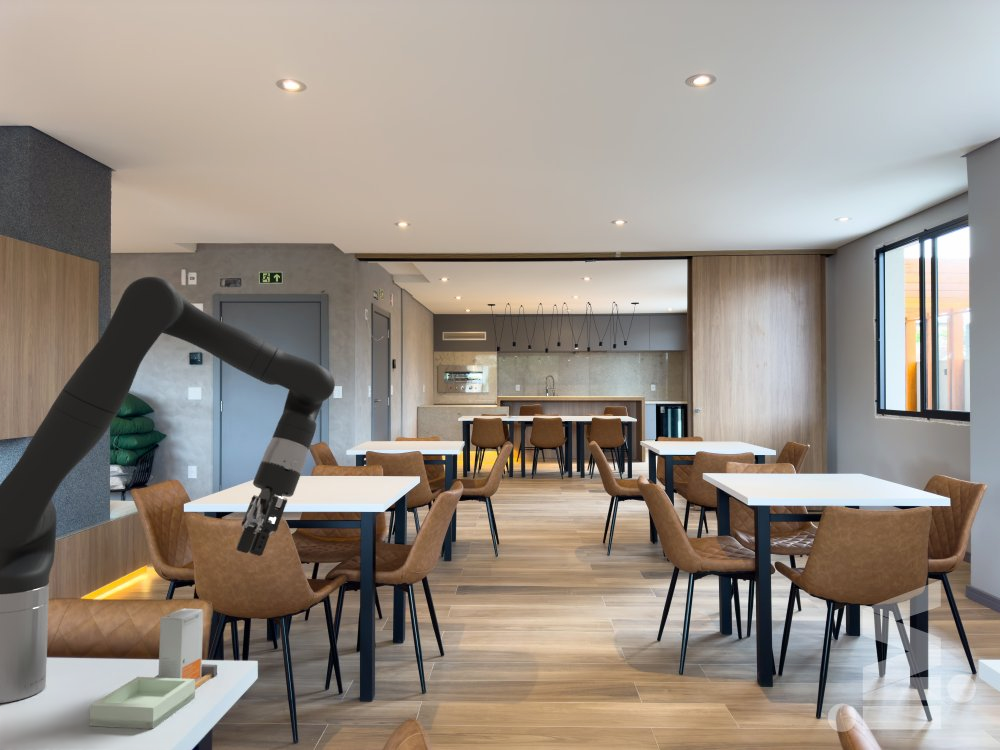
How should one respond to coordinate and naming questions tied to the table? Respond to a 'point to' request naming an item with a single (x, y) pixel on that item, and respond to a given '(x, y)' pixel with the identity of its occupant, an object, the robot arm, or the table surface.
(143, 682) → the parts tray
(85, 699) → the table surface
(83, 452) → the robot arm
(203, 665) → the grey shallow square tray
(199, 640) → the skincare box
